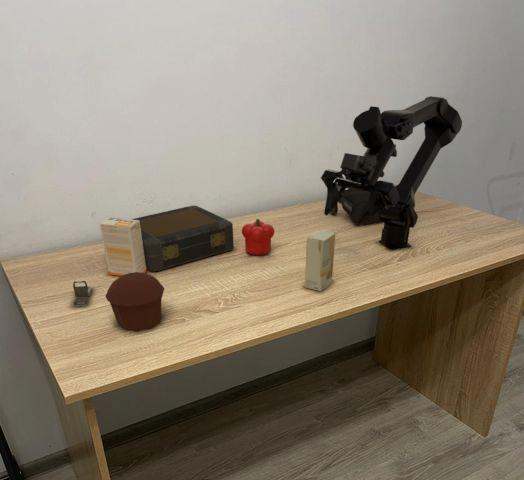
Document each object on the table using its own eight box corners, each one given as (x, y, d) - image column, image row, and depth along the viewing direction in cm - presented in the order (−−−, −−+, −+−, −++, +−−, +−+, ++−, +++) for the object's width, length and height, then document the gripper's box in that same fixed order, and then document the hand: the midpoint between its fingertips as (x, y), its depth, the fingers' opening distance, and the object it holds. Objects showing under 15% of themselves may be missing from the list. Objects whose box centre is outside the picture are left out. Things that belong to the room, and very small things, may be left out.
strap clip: (78, 290, 123) (75, 273, 120) (92, 289, 123) (88, 272, 121) (73, 307, 116) (69, 289, 113) (87, 306, 116) (83, 288, 114)
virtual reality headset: (347, 233, 157) (355, 184, 147) (313, 201, 173) (318, 155, 164) (402, 225, 162) (412, 177, 153) (363, 195, 179) (371, 150, 170)
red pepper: (259, 244, 146) (259, 212, 141) (277, 252, 141) (277, 219, 136) (239, 251, 142) (238, 218, 137) (256, 259, 137) (256, 226, 132)
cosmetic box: (320, 292, 121) (323, 241, 114) (303, 287, 123) (305, 237, 116) (333, 281, 126) (336, 232, 119) (316, 277, 128) (319, 228, 121)
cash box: (196, 229, 156) (194, 203, 152) (236, 250, 142) (235, 222, 138) (117, 249, 143) (112, 221, 139) (152, 274, 130) (148, 244, 126)
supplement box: (147, 271, 131) (140, 219, 124) (137, 279, 127) (129, 226, 120) (118, 267, 134) (110, 216, 127) (108, 274, 130) (98, 222, 123)
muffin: (150, 302, 117) (144, 260, 112) (178, 321, 110) (173, 277, 105) (100, 320, 111) (92, 276, 105) (127, 341, 104) (119, 295, 98)
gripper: (328, 132, 121) (295, 190, 120) (399, 144, 111) (363, 208, 110) (345, 162, 130) (314, 217, 130) (413, 176, 120) (380, 235, 119)
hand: (341, 219), depth 122 cm, fingers open, 9 cm apart
